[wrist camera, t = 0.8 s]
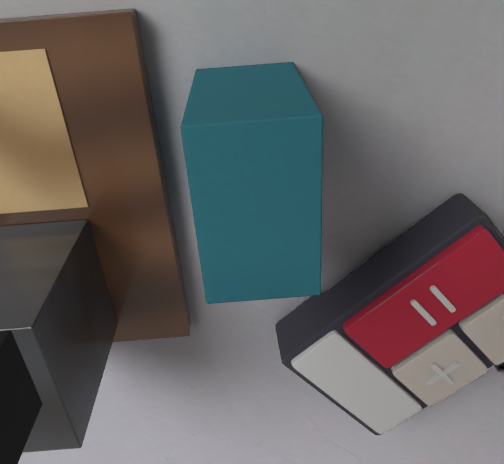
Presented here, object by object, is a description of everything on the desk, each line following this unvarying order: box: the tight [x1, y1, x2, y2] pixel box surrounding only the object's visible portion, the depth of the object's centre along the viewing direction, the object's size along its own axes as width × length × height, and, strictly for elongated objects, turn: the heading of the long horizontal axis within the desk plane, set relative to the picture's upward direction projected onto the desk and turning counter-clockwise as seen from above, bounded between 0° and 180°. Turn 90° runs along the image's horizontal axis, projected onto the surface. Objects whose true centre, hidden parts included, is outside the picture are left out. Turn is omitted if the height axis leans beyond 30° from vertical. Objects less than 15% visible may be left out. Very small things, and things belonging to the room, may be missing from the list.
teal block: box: [181, 62, 323, 304], centre depth 22 cm, size 8×5×9 cm, turn 3°
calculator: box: [276, 194, 504, 435], centre depth 31 cm, size 11×4×15 cm
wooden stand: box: [0, 9, 191, 452], centre depth 23 cm, size 20×14×10 cm
